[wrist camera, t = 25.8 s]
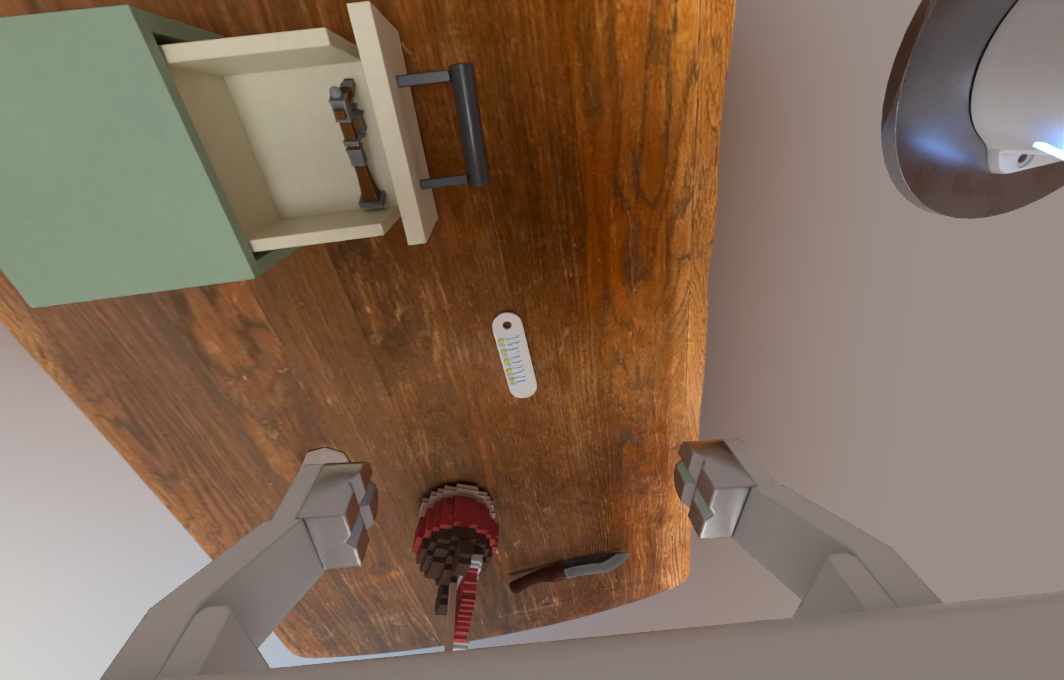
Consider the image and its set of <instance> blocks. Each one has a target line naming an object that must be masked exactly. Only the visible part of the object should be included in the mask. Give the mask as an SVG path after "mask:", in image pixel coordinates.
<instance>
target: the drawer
mask: <svg viewBox="0 0 1064 680" xmlns="http://www.w3.org/2000/svg"><path fill="white" fill-rule="evenodd" d="M347 9H348V13H349V16H350V20H351V24H352V28H353V32H354V36H355V40H356V44H357V46H356V45H354V44H353V43H351V42H349V41H347V40H346V39H344V38H342V37H341V36H339V35H337V34H335V33H334V32H332V31H330V30H329V29H327V28H325V27H322V28H313V29H304V30H294V31H285V32H276V33H267V34H257V35H248V36H239V37H229V38H220V39H211V40H202V41H192V42H183V43H174V44H164V45H158V47H159V49H160V51H161V54H162V56H163V58H164V60H165V62H166V65H167V67H168V69H169V71H170V73H171V76H172V78H173V80H174V82H175V84H176V86H177V89H178V91H179V93H180V95H181V97H182V100H183V102H184V104H185V106H186V108H187V111H188V113H189V115H190V117H191V119H192V122H193V124H194V126H195V128H196V130H197V133H198V135H199V137H200V139H201V141H202V144H203V146H204V148H205V150H206V152H207V155H208V157H209V159H210V161H211V163H212V166H213V168H214V170H215V172H216V174H217V177H218V179H219V181H220V183H221V185H222V188H223V190H224V192H225V194H226V196H227V199H228V201H229V203H230V205H231V207H232V210H233V212H234V214H235V216H236V218H237V221H238V223H239V225H240V227H241V229H242V232H243V234H244V236H245V238H246V240H247V243H248V245H249V247H250V249H251V251H252V252H259V251H266V250H274V249H282V248H289V247H297V246H305V245H312V244H320V243H328V242H336V241H343V240H351V239H359V238H366V237H374V236H382V235H385V234H386V232H387V231H388V230H389V229H390V228H391V227H392V225H393V224H394V223H395V222H396V221H397V220H398V219H399V217H400V216H401V218H402V222H403V226H404V230H405V234H406V238H407V242H408V245H415V244H423V243H426V242H427V240H428V238H429V236H430V234H431V232H432V229H433V227H434V225H435V223H436V221H437V219H438V215H437V210H436V206H435V201H434V196H433V192H432V188H438V187H446V186H454V185H462V184H468V183H469V186H470V187H478V186H485V185H488V184H490V178H489V171H488V164H487V157H486V150H485V144H484V137H483V130H482V123H481V116H480V109H479V102H478V96H477V89H476V82H475V75H474V68H473V64H472V63H459V64H453V65H450V66H449V70H441V71H432V72H423V73H414V74H407V70H406V66H405V61H404V56H403V52H402V47H401V42H400V38H399V33H398V31H397V30H396V29H395V28H394V26H393V25H392V24H391V23H390V22H389V21H388V20H387V19H386V18H385V17H384V16H383V15H382V14H381V13H380V12H379V11H378V10H377V9H376V8H375V7H374V6H373V5H372V4H371V3H370V2H369V1H366V2H356V3H347ZM345 78H353V79H354V82H355V86H356V88H355V96H354V100H353V102H354V103H357V109H360V110H364V113H363V118H364V121H365V123H366V125H367V130H366V136H365V137H364V138H361V142H360V143H363V148H364V152H365V155H366V157H367V158H368V159H367V165H368V168H369V170H370V173H371V175H372V177H373V179H374V181H375V183H376V185H377V187H378V189H379V190H385V193H386V194H387V195H386V200H385V205H384V208H369V209H359V208H360V206H359V200H360V196H361V190H360V186H359V182H358V178H357V174H356V171H355V168H354V166H351V161H350V159H349V156H348V154H347V152H346V151H345V150H346V148H347V146H346V147H344V144H343V140H344V137H343V134H342V130H341V127H340V124H339V123H336V120H335V116H334V113H333V111H332V108H331V105H330V103H329V102H328V101H329V98H330V93H329V89H330V88H331V87H332V86H337V87H338V88H340V84H341V82H343V81H344V79H345ZM445 82H451V84H452V90H453V95H454V101H455V107H456V113H457V119H458V125H459V131H460V137H461V142H462V148H463V154H464V160H465V166H466V172H467V174H460V175H452V176H444V177H436V178H429V173H428V168H427V164H426V159H425V154H424V150H423V145H422V140H421V136H420V131H419V126H418V122H417V117H416V112H415V108H414V103H413V98H412V94H411V89H410V86H419V85H428V84H436V83H445ZM352 99H353V98H352Z"/></svg>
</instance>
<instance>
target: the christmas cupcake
mask: <svg viewBox="0 0 1064 680" xmlns="http://www.w3.org/2000/svg"><path fill="white" fill-rule="evenodd" d="M478 488H479V487H475V486H469V485H464V484H458V483H457V486H456V487H451V486H445V487H444V489H439V488H438V491H437V492H433V491H431V494H430V497H429V498H423V501H422V504H421V507H420V510H419V514H418V517H420V520H419V523H418V526H417V528H416V532H415V538H414V544H413V550H412V552H417V553H416V559H415V560H417V563H416V564H421V566H420V572H425V573H424V576H425V578H430V579H434V580H435V583H436V585H440V587H439V589H438V596H437V598H436V605H435V612H436V615H446V616H447V623H446V636H445V651H444V652H446V651H456V650H466V649H468V643H469V628H470V623H471V617H472V612H473V607H474V601H475V593H476V584H477V580H478V578H479V577H480V575H481V573H482V571H486V569H487V567H488V565H489V563H490V561H491V559H492V557H493V555H494V553H495V551H496V549H497V544H498V537H499V527H498V524H497V523H496V522H495V519H494V517H495V515H496V509H493V508H494V501H491V497H489V496H487V492H482V491H478Z"/></svg>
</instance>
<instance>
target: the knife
mask: <svg viewBox="0 0 1064 680" xmlns="http://www.w3.org/2000/svg"><path fill="white" fill-rule="evenodd" d="M630 554H631V553H626V552H613V553H602V554H596V555H591V556H586V557H581V558H577V559H573V560H570V561H566V562H563V563H557V564H555V565H552V566H549V567H545V568H542V569H539V570H536V571H534V572H532V573H529V574H527V575H525V576H523V577H521V578H519V579H516V580H514V581H512V582H511V583H510V584H509V586H510V589H511V591H512V592H513V593H515V594H517V593H519V592H520V591H522V590H524V589H525V588H527V587H529V586H531V585H533V584H535V583H538V582H542V581H543V582H558V581H561V580H563V579H565V578H570V577H575V576H580V575H587V574H595V573H605V572H609V571H612V570H613V569H615V568H617V567H618V566H619V565H620V564H621V563H623V562H624V561H625V560H626V559H627V558H628V557H629V555H630Z"/></svg>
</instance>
